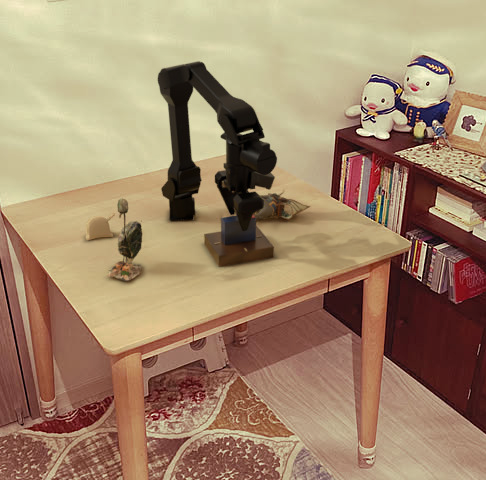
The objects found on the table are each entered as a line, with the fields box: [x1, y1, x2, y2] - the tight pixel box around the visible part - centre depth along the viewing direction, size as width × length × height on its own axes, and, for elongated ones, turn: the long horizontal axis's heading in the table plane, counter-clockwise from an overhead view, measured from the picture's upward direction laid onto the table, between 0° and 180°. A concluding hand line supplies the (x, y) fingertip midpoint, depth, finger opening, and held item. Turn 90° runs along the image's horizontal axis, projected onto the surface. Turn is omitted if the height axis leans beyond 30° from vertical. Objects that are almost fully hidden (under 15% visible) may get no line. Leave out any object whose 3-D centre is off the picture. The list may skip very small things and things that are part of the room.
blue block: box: [220, 214, 257, 245], centre depth 174 cm, size 8×3×6 cm, turn 107°
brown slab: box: [203, 225, 275, 267], centre depth 177 cm, size 14×12×3 cm
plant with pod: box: [106, 198, 143, 282], centre depth 165 cm, size 8×11×20 cm
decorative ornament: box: [85, 213, 116, 241], centre depth 185 cm, size 4×8×5 cm, turn 106°
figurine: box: [253, 188, 311, 221], centre depth 192 cm, size 20×6×17 cm
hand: (238, 222), depth 174 cm, fingers open, 9 cm apart
